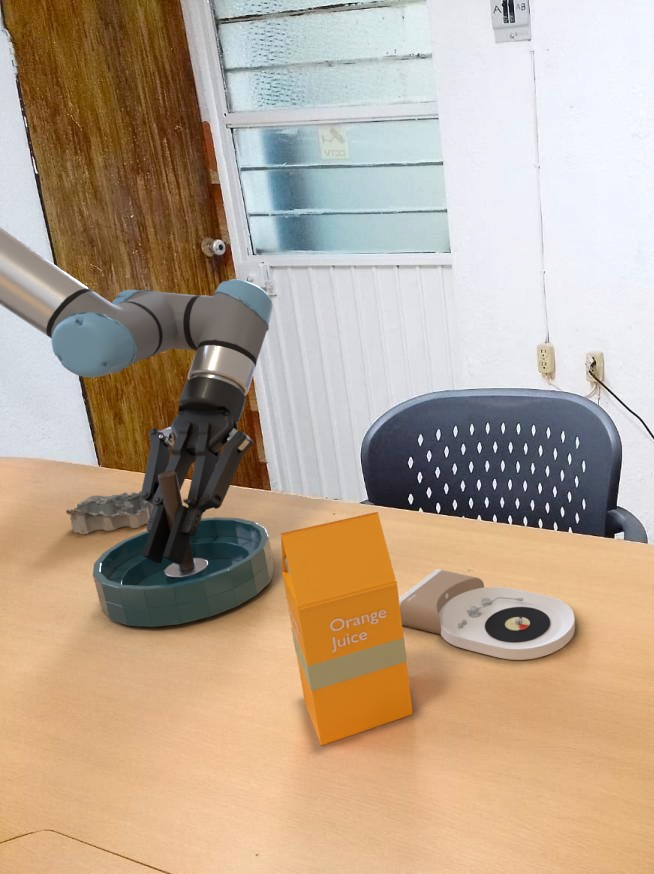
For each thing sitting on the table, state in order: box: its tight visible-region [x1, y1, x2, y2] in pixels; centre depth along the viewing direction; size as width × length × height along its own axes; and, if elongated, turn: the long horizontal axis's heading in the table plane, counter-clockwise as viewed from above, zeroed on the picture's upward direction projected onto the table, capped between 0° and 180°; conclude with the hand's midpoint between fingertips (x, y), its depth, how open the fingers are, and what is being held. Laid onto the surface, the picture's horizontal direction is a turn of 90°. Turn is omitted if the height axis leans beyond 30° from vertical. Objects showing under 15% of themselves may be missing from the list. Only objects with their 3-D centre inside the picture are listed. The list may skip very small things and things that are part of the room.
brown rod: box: [158, 471, 210, 584], centre depth 102 cm, size 5×5×14 cm
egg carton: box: [65, 490, 153, 535], centre depth 124 cm, size 11×8×4 cm
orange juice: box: [280, 511, 414, 746], centre depth 78 cm, size 8×9×20 cm
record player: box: [399, 568, 576, 661], centre depth 95 cm, size 12×3×20 cm
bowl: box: [92, 516, 275, 628], centre depth 104 cm, size 20×20×6 cm
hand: (162, 559), depth 99 cm, fingers closed on brown rod, 2 cm apart
